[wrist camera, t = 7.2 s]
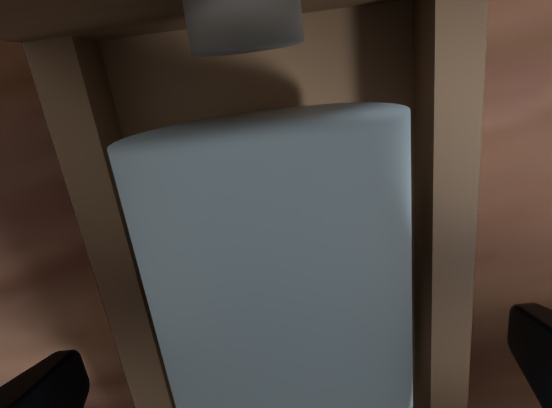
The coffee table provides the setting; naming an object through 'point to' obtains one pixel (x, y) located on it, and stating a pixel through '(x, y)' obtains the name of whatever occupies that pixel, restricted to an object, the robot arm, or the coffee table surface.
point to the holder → (262, 96)
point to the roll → (277, 254)
